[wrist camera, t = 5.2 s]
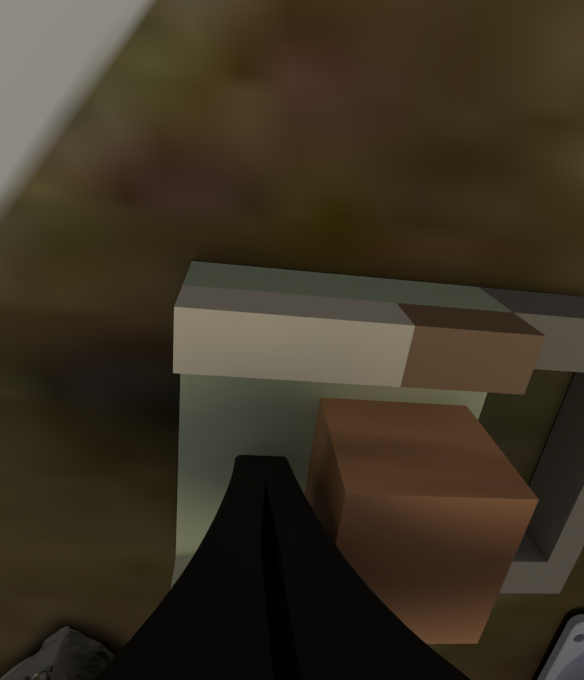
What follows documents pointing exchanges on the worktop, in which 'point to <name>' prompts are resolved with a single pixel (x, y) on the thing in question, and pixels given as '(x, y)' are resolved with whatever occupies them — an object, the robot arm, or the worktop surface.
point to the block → (419, 509)
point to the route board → (367, 382)
